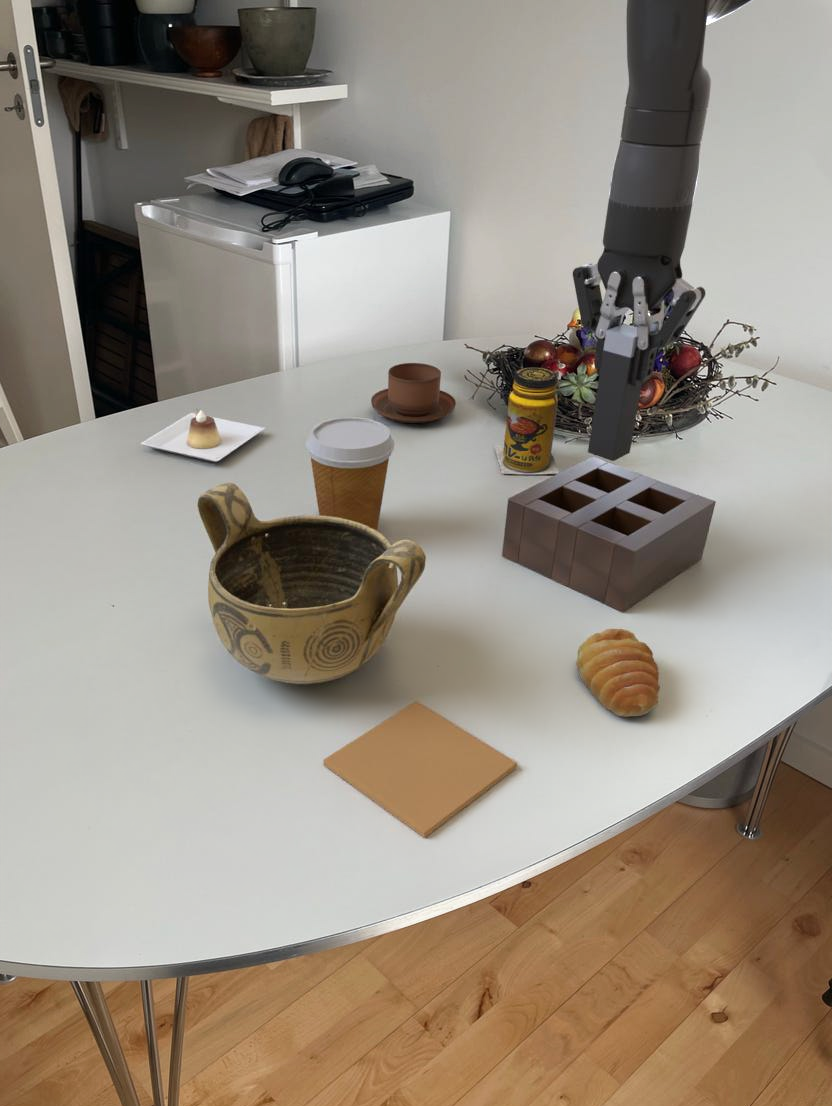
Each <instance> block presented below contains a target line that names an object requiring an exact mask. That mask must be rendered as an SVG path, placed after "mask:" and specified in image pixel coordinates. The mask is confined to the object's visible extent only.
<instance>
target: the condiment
mask: <svg viewBox="0 0 832 1106" xmlns="http://www.w3.org/2000/svg"><path fill="white" fill-rule="evenodd" d="M557 384H558V375H557V373H556V372H555V371H554V370H551V369H548V368H544V367H537V366H535V367H534V366H533V367H532V366H531V367H523V368H521V369H518V370H517V371H516V372H515V373H514V376H513V384H512V389H513V390H512V391H511V392H510V394H509V396H508V405H507V415H506V419H505V420H506V425H505V432H504V440H503V446H500V445H499V446H498V445H497V446H494V451H495V454H496V458H497V462H498V465H499V468H500V473H501V474H503V475H527V476H528V475H529V476H530V475H548V474H549V475H554V474H555V475H557V474H559V473H561V471H559V468H558V466H557V463H556V461H555V458H554V456H553V453H552V451H553V443H554V435H555V429H556V428H555V427H556V420H557V412H558V405H559V404H558V403H559V397H558V395H557V393H556V392H557V389H558V386H557Z"/></svg>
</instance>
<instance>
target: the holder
mask: <svg viewBox="0 0 832 1106" xmlns="http://www.w3.org/2000/svg"><path fill="white" fill-rule="evenodd" d="M716 502H717V501H716V500H713V499H711V498H708V497H706V496H702V495H700V494H696V493H695V492H694V493H693V492H691V491H689V490H685V489H682V488H680V487H677V486H674V485H672V484H669V483H667V482H664V481H660V480H658V479H656V478H653V477H650V476H647V475H645V474H642V473H638V472H636V471H633V470H631V469H627V468H625V467H623V466H620V465H616V464H614V463H611V462H608V461H605V460H603V459H600V458H597V457H594V456H591V457H589V458H587V459H585V460H583V461H580V462H579V463H577V464H575V465H572V466H571V467H569V468H566V469H564V470H563V471H560V473H559V474H555V475H553V476H551V477H548V478H547V479H544V480H543V481H541V482H539V483H536V484H535V485H532V486H531V487H528V488H527V489H525V490H522V491H520V492H519V493H516V494H514V495H512V496H510V497H509V498H507V505H506V516H505V523H504V534H503V541H502V551H501V557H503V558H504V559H507V560H508V561H511V562H513V563H515V564H518V565H520V566H522V567H525V568H527V569H528V570H531V571H533V572H535V573H537V574H539V575H542V576H543V577H545V578H548V579H550V580H551V581H554V582H556V583H558V584H560V585H563V586H565V587H567V588H569V589H571V590H574V591H576V592H578V593H581V595H584V596H587V597H589V598H591V599H592V600H593V599H594V600H595V601H598V602H599V603H601V604H604V605H606V606H608V607H610V608H612V609H614V610H616V611H619V612H620V613H625V612H626V611H627V610H629V609H630V608H632V607H633V606H635V605H637V604H638V603H639V602H641V601H642V600H644V599H645V598H647V597H649V595H652V593H655V591H657V590H659V589H660V588H661V587H663V586H664V585H666V584H668V583H669V582H670V581H672V580H673V579H675V578H676V577H677V576H678V577H679V575H681V574H682V573H684V572H685V571H686V570H688V569H689V568H691V567H692V566H693V565H696V564H697V563H698V562H700V561H701V560H702V559H703V555H704V552H705V551H704V550H705V547H706V543H707V539H708V535H709V532H710V527H711V524H712V520H713V515H714V511H715V508H716Z"/></svg>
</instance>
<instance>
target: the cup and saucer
mask: <svg viewBox="0 0 832 1106" xmlns="http://www.w3.org/2000/svg"><path fill="white" fill-rule="evenodd" d="M387 375H388V377H387V378H388V379H387V388H385V389H382V390H379V391H377V392H376V393H374V394H373V395H372V396H371V399H370V403H371V406H372V408H373V409H374V411H376V413H378V414H379V415H380V416H382V417H384V418H386V419H389V420H392V421H396V422H400V423H407V424H408V423H409V424H423V423H431V422H436V421H438V420H441V419H443V418H445V417H447V416H449V415H450V414H451V413H452V412H453V411H454V410H455V408H456V405H457V401H456V399H455V398H454V397H453V396H452V395H451V394H449V393H448V392H446V391H443V390H441V389H440V388H441V378H442V372H441V370H440V369H439V368H438V367H436V366H434V365H431V364H426V363H422V362H420V363H419V362H403V363H398V364H395V365H393V366H391V367H390V368H389V369H388V373H387Z"/></svg>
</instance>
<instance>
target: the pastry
mask: <svg viewBox="0 0 832 1106" xmlns="http://www.w3.org/2000/svg"><path fill="white" fill-rule="evenodd" d="M576 668H577V672H578V673H579V676H580V679H581V681H582V682H583V683H584V685H585V687H586V688H588V690H589V692H590V694H592V697H595V698H596V701H597V702H599V704H600V705H601V706H602V707H603V708H604V709H606V710H608V711H610V712H612V713H613V714H614V715H615V716H617V717H623V718H626V717H641V716H645V715H647V714H649V713H650V712H651V710H653V709H654V708H655V707H656V706H657V705H658V703H659V692H660V688H661V687H660V684H659V680H660V679H659V677H660V672H659V667H658V664H657V663H656V661H655V659H654V653H653V651H652V649H651V648H650V647H649V645H648V644H647V643H646V642H643V641H640V640H639V639H637V637H636V635H635V633H633V632H631V631H630V630H627V629H623V628H607V629H605V630H603V631H601V632H597V633H594V634H591V635H590V636H589V637H588V638H586V640H584V642H582V644H580V646H579V647H578V650H577V660H576Z"/></svg>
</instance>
